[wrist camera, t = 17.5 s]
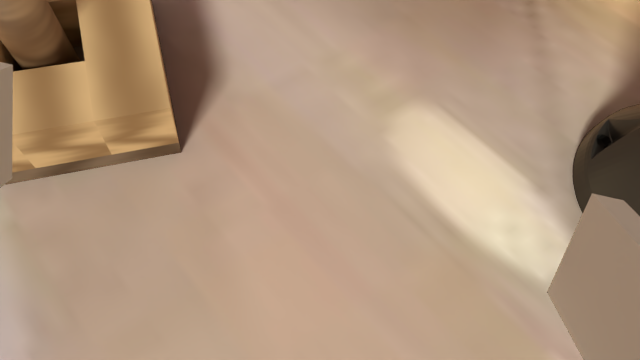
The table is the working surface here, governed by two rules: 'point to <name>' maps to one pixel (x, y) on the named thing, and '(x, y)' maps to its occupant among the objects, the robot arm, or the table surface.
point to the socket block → (94, 94)
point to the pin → (34, 34)
